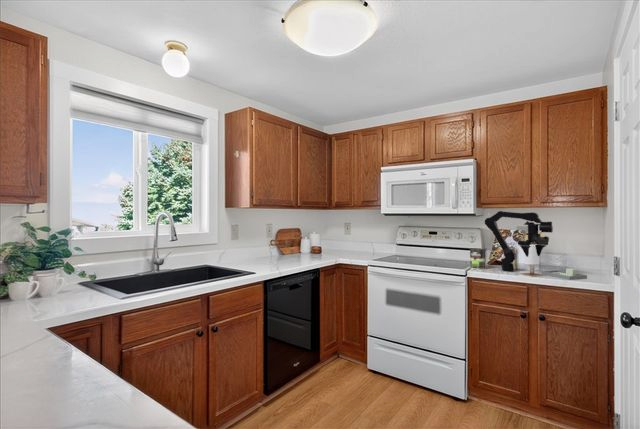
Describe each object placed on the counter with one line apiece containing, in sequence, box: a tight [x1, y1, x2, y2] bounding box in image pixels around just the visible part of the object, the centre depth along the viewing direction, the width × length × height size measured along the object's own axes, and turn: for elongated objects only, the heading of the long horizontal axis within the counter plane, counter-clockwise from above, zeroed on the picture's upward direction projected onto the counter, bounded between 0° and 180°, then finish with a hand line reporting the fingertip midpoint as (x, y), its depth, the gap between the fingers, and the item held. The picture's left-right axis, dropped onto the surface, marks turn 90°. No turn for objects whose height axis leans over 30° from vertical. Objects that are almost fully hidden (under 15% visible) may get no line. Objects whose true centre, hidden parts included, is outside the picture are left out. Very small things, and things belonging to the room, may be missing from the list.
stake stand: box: [517, 264, 547, 278], centre depth 206 cm, size 11×11×7 cm
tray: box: [541, 269, 588, 281], centre depth 200 cm, size 18×14×3 cm
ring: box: [554, 268, 578, 276], centre depth 200 cm, size 13×9×6 cm
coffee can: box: [469, 247, 487, 271], centre depth 235 cm, size 10×10×14 cm
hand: (532, 256), depth 210 cm, fingers open, 9 cm apart
